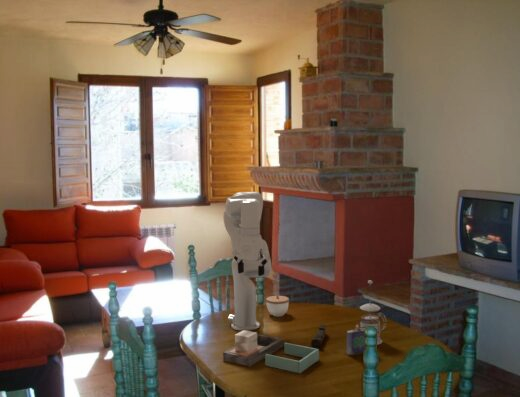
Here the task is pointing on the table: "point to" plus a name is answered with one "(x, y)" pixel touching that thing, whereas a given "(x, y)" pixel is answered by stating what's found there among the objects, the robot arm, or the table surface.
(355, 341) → the flask
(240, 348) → the cube
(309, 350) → the teal open tray
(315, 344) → the hand tool
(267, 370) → the table surface
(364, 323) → the french press
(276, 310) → the lidded jar
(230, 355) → the dark brown shallow tray
